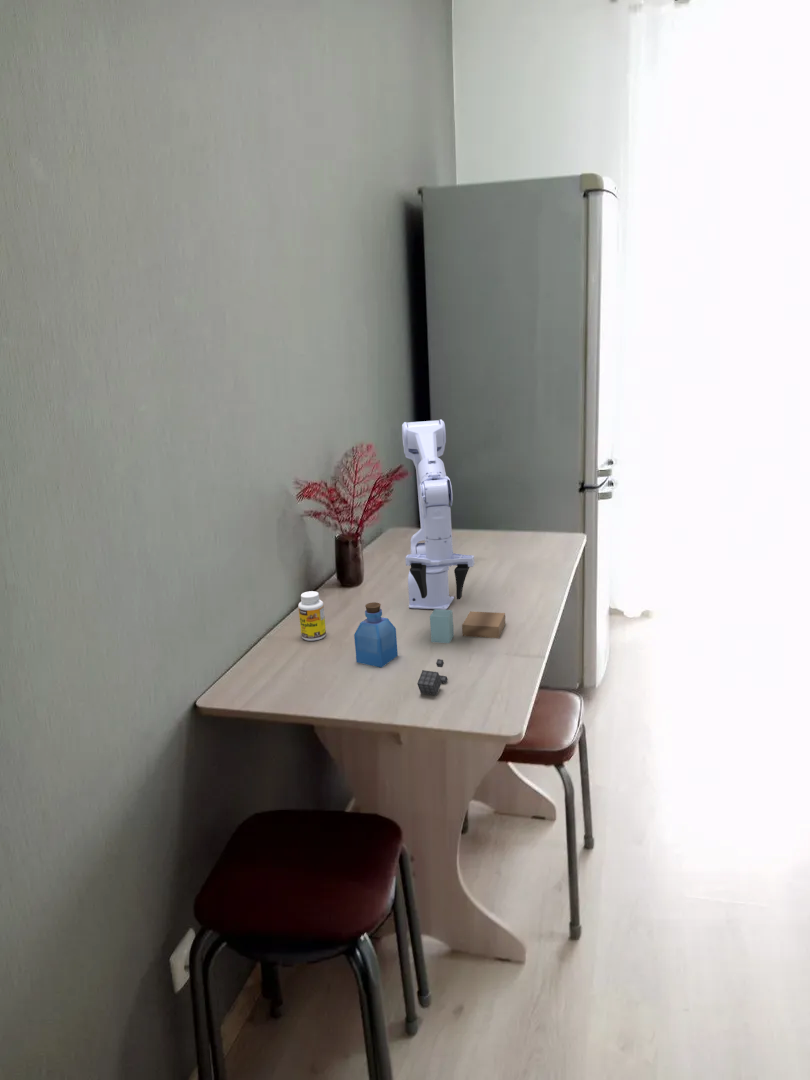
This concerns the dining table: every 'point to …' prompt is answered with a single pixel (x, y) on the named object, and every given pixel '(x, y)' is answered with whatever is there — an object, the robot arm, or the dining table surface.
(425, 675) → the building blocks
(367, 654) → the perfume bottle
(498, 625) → the walnut base block
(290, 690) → the dining table surface
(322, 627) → the supplement bottle
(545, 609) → the dining table surface
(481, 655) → the dining table surface
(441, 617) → the teal block
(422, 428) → the robot arm
